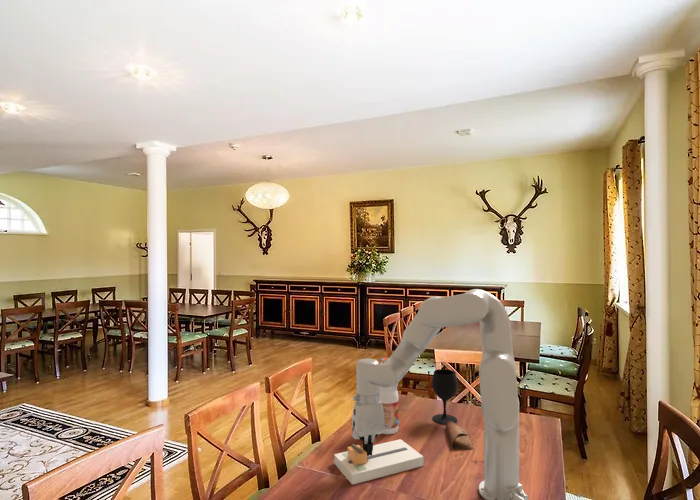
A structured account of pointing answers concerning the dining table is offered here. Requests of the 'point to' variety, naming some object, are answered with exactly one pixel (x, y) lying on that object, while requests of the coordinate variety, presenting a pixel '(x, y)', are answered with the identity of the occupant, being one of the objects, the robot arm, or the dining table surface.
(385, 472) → the fader console
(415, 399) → the dining table surface
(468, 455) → the dining table surface
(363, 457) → the fader knob
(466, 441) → the sunglasses case
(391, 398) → the fruit juice
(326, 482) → the dining table surface
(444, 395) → the wine glass
